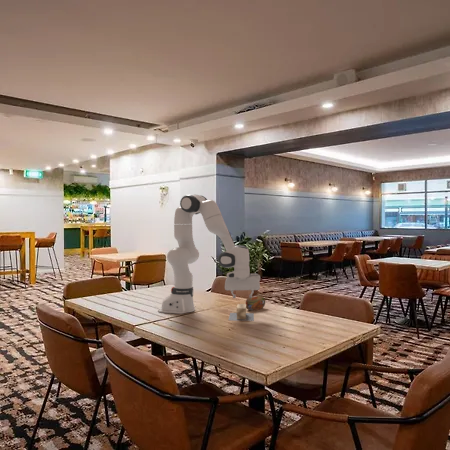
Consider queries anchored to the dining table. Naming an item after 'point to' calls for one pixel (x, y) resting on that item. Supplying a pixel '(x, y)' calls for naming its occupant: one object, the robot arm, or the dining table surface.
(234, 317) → the card
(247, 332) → the dining table surface
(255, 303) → the tin
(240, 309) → the oak block
